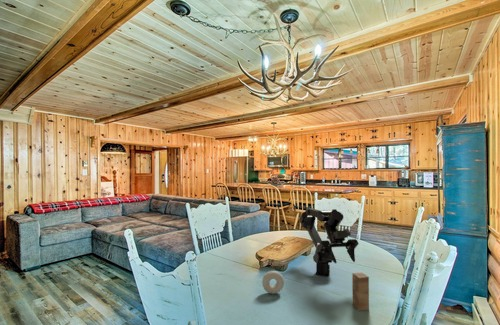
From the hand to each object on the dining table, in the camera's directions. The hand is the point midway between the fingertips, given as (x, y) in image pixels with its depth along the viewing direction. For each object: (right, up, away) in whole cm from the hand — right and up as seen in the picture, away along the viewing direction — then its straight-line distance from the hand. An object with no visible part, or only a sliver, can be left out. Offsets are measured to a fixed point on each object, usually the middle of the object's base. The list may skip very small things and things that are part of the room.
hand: (345, 262), depth 112 cm
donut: (-33, -14, 0) cm, 36 cm away
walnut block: (+2, -14, -11) cm, 18 cm away
